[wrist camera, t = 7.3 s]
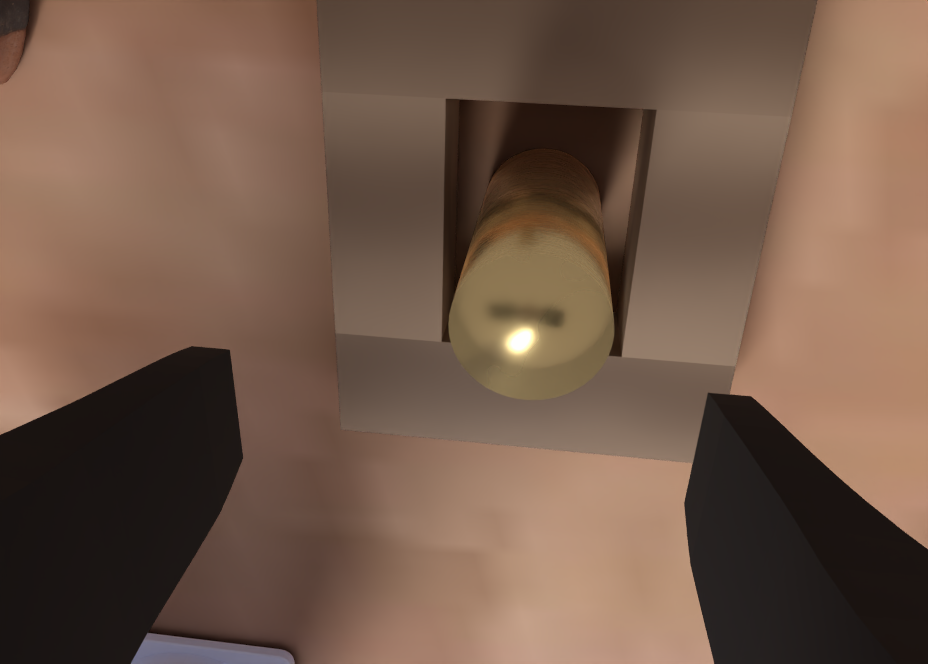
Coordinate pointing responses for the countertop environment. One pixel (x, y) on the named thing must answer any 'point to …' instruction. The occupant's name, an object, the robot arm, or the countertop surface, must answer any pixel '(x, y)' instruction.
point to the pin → (535, 281)
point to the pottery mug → (12, 35)
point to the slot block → (650, 220)
